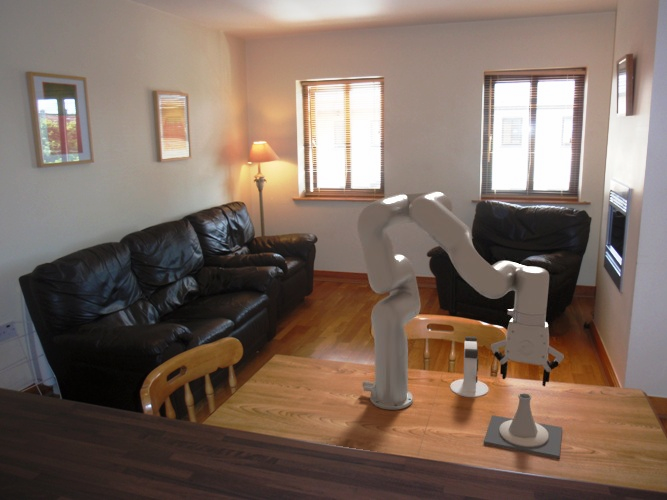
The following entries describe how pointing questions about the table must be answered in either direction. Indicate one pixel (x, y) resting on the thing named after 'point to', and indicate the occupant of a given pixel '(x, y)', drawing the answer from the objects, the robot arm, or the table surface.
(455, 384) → the white upright piece
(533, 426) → the flask
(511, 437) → the saucer mat
